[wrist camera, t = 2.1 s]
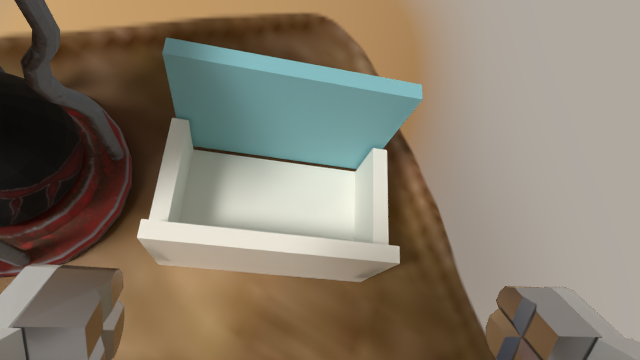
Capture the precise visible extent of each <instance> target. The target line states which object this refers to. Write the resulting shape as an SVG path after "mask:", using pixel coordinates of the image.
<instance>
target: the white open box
mask: <svg viewBox="0 0 640 360" xmlns="http://www.w3.org/2000/svg"><path fill="white" fill-rule="evenodd" d="M137 239H138V240H139V241H140V242H141V243H142V245H143V246H144V247H145V248H146V250H147V251H148V252H149V253H150V254H151V256H152V257H153V258H154V259H155V260H156V262H157V263H158V264H159V265H169V266H180V267H192V268H203V269H215V270H226V271H238V272H249V273H261V274H272V275H284V276H295V277H307V278H318V279H330V280H341V281H353V282H361V281H363V280H365V279H368V278H370V277H372V276H374V275H376V274H378V273H381V272H383V271H385V270H387V269H389V268H391V267H393V266H396V265H398V264H400V247H399V246H393V245H389V236H388V180H387V150H383V149H376V148H373V149H372V150H371V151H370V153H369V154H368V155H367V157H366V158H365V159H364V161H363V162H362V163H361V165H360V166H359V167H358V169H357V170H356V171H355V172H352V171H345V170H338V169H331V168H323V167H316V166H309V165H302V164H295V163H287V162H280V161H273V160H266V159H258V158H251V157H244V156H237V155H230V154H222V153H215V152H208V151H201V150H193V144H192V138H191V132H190V126H189V120H184V119H178V118H172V120H171V124H170V129H169V133H168V137H167V142H166V146H165V151H164V155H163V159H162V164H161V168H160V173H159V177H158V181H157V186H156V190H155V195H154V199H153V203H152V208H151V212H150V217H149V220H147V219H141V222H140V227H139V231H138V235H137Z"/></svg>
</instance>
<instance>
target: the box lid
mask: <svg viewBox="0 0 640 360" xmlns="http://www.w3.org/2000/svg"><path fill="white" fill-rule="evenodd" d="M162 54H163V58H164V63H165V68H166V73H167V77H168V82H169V87H170V91H171V96H172V101H173V105H174V110H175V115H176V118H178V119H184V120H189V126H190V132H191V138H192V144H193V146H195V147H202V148H209V149H216V150H223V151H230V152H237V153H245V154H252V155H259V156H266V157H273V158H280V159H287V160H295V161H302V162H309V163H316V164H323V165H330V166H338V167H345V168H352V169H358V167H359V166H360V165H361V163H362V162H363V161H364V159H365V158H366V157H367V155H368V154H369V153H370V151H371V150H372V149H373V148H376V149H383V148H384V147H385V145H386V144H387V143H388V142H389V140H390V139H391V138H392V137H393V136H394V134H395V133H396V132H397V131H398V129H399V128H400V127H401V126H402V124H403V123H404V122H405V120H406V119H407V118H408V117H409V116H410V114H411V113H412V112H413V111H414V109H415V108H416V107H417V106H418V104H419V103H420V102H421V101H422V85H421V84H415V83H410V82H405V81H399V80H393V79H388V78H383V77H378V76H372V75H367V74H361V73H356V72H351V71H345V70H340V69H334V68H329V67H324V66H318V65H313V64H307V63H302V62H297V61H291V60H286V59H280V58H275V57H270V56H264V55H259V54H253V53H248V52H243V51H237V50H232V49H226V48H221V47H216V46H210V45H205V44H199V43H194V42H189V41H183V40H178V39H172V38H167V37H166V41H165V45H164V49H163V53H162Z"/></svg>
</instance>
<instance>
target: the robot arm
mask: <svg viewBox="0 0 640 360" xmlns="http://www.w3.org/2000/svg"><path fill="white" fill-rule="evenodd" d="M122 289H123V275H122V272H121V270H120V269H116V268H100V267H84V266H69V265H63V266H61V265H49V264H31V265H28V266H26V267H25V268H24V269H23V270H22V271H21V272H20V273H19V274H18V275H17V277H16V278H15V279H14V280H13V281H12V282H11V283H10V284H9V285H8V287H7V288H6V289H5V290H4V291H3V292H2V293H1V294H0V360H111V359H112V358H114V357H115V354H116V352H117V349H118V347H119V344H120V340H121V336H122V331H123V325H124V305H123V304H122V303H121V302H120V301H119V300H118V298H119V295H120V293H121V291H122ZM496 301H497V304H498V307H499V309H498V310H496V311H495V312H494V313H493V314H491V315H490V317H489V320H488V322H487V325H486V340H487V343H488V346H489V349H490V351H491V352H492V354H493V355H494V357H495V358H496V359H497V360H640V342H637V341H636V340H634V339H628V338H625V337H624V336H623V335H622V334H620V333H619V332H618V331H617V330H616V329H615V328H614V327H613V326H612V325H611V324H609V323H608V322H607V321H606V320H605V319H604V318H603V317H602V316H601V315H599V314H598V313H597V312H596V311H595V310H594V309H593V308H592V307H591V306H589V305H588V304H587V303H586V302H585V301H584V300H583V299H582V298H581V297H579V296H578V295H577V294H576V293H575V292H574V291H573V290H570V289H568V288H566V287H544V288H539V287H514V286H505V287H504V288H503V289H502V290H501V291H500V293H499V295H498V297H497V299H496Z"/></svg>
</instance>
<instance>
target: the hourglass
mask: <svg viewBox="0 0 640 360" xmlns="http://www.w3.org/2000/svg"><path fill="white" fill-rule="evenodd" d="M15 2H16V3H17V5H18V7H19V9H20V10H21V11H22V13H23V15H24V17H25V18H26V20H27V22H28V23H29V25H30V27H31V28H32V45H31V47H30V48H29V49H28V50H27V52H26V53H25V54H24V56H23V58H22V60H21V65H22V69H23V74H24V78H25V79H23V78H20V77H17V76H14V75H11V74H7V73H6V72H5V71H4V70H3V69H2V67H1V66H0V278H1V277H12V276H17V275H18V274H19V273H20V272H21V271H22V270H23V269H24V268H25V267H26V266H28V265H31V264H49V265H60V264H62V263H65V262H68V261H70V260H71V259H73V258H74V257H76V256H77V255H78V254H80V253H81V252H83V251H84V250H86V249H87V248H89V247H90V246H91V245H93V244H94V243H96V242H97V241H99V240H100V238H101V237H102V236H103V235H104V234H105V232H106V231H107V230H108V229H109V228H110V226H111V225H112V224H113V223H114V222H115V220H116V219H117V218H118V217H119V216H120V214H121V212H122V209H123V207H124V204H125V202H126V199H127V197H128V194H129V192H130V189H131V187H132V157H131V155H130V152H129V149H128V146H127V143H126V141H125V138H124V135H123V133H122V131H121V129H120V128H119V126H118V125H117V124H116V123H115V122H114V121H113V119H112V118H111V117H110V116H109V115H108V114H107V112H106V111H105V110H104V109H103V108H102V107H100V106H99V105H98V104H97V103H96V102H95V101H93V100H92V99H91V98H89V97H88V96H87V95H85V94H83V93H80V92H78V91H75V90H73V89H70V88H67V87H65V86H63V85H62V84H61V83H60V82H59V81H58V80H57V79H56V78H55V77H54V76H53V75H52V72H51V68H50V64H49V62H50V61H51V59H52V58H53V57H54V55H55V54H56V52H57V50H58V48H59V42H60V29H59V27H58V25H57V24H56V22H55V20H54V18H53V16H52V14H51V12H50V10H49V8H48V7H47V5H46V3H45V1H44V0H15Z"/></svg>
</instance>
